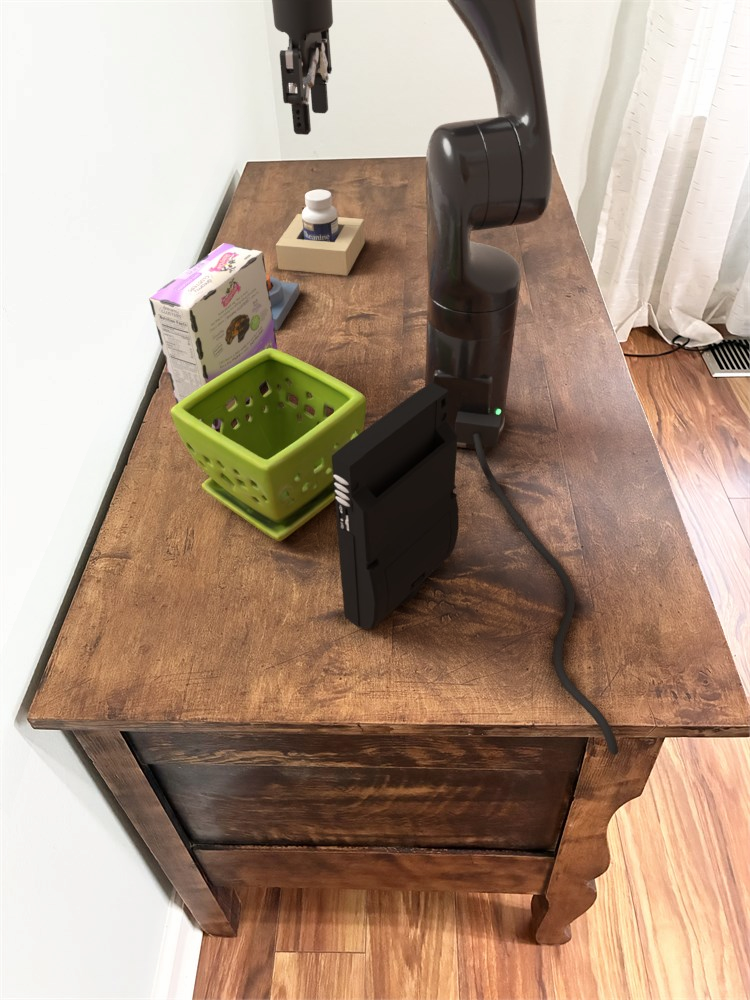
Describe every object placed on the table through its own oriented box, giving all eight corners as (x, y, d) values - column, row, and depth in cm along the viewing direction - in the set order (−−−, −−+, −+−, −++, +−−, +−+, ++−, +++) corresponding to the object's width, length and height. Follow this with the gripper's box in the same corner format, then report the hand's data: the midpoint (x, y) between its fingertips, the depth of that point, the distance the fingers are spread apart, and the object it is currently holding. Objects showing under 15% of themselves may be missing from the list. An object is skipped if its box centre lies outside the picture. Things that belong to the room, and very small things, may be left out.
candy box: (245, 359, 99) (223, 239, 87) (282, 370, 97) (265, 250, 85) (178, 418, 90) (145, 294, 79) (217, 432, 88) (189, 307, 77)
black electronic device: (421, 543, 75) (426, 378, 61) (458, 565, 73) (472, 399, 59) (339, 618, 69) (323, 453, 55) (377, 645, 67) (370, 481, 52)
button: (267, 295, 104) (265, 284, 103) (245, 293, 105) (243, 282, 104) (274, 284, 106) (273, 273, 105) (253, 282, 107) (251, 271, 106)
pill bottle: (300, 261, 118) (294, 200, 111) (312, 246, 121) (307, 185, 114) (333, 266, 116) (329, 203, 110) (344, 250, 120) (340, 189, 113)
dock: (347, 275, 114) (346, 251, 111) (278, 269, 116) (275, 244, 113) (364, 243, 122) (363, 218, 119) (299, 237, 124) (297, 213, 121)
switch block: (278, 330, 104) (275, 307, 101) (223, 324, 105) (219, 301, 103) (299, 293, 111) (297, 271, 108) (248, 288, 112) (245, 266, 110)
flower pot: (190, 501, 80) (163, 406, 71) (283, 436, 87) (270, 342, 78) (282, 565, 73) (265, 469, 64) (375, 489, 81) (371, 393, 72)
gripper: (289, -29, 99) (301, 104, 110) (252, -4, 89) (269, 139, 101) (344, -28, 98) (350, 107, 109) (312, -3, 88) (323, 142, 99)
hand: (311, 122), depth 105 cm, fingers open, 8 cm apart
